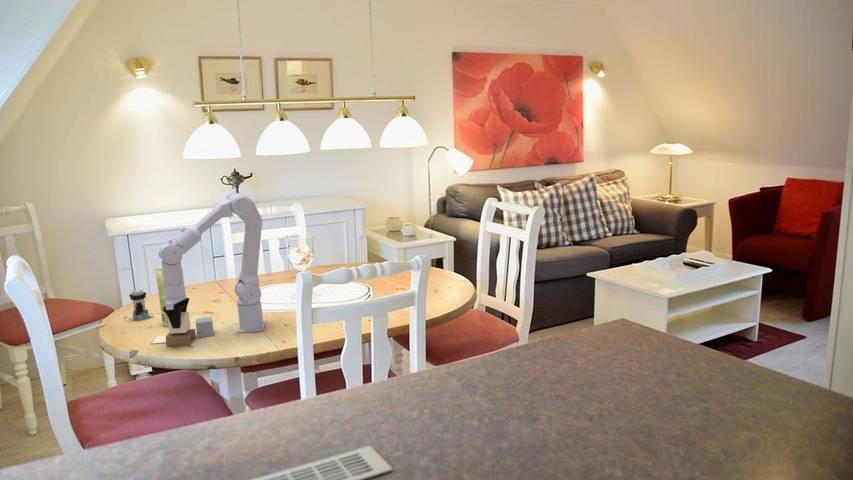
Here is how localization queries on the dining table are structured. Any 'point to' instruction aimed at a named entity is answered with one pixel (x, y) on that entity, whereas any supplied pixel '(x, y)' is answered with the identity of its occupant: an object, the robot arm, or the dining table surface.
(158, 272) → the tube
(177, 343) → the walnut block
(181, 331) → the cream cube
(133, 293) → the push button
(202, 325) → the slate cube
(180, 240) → the robot arm
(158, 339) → the swatch
